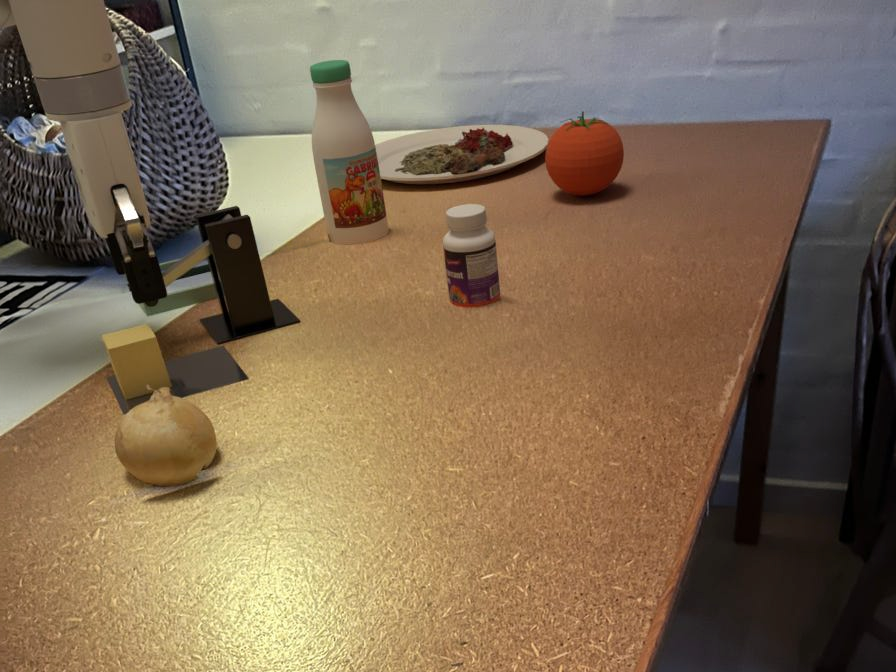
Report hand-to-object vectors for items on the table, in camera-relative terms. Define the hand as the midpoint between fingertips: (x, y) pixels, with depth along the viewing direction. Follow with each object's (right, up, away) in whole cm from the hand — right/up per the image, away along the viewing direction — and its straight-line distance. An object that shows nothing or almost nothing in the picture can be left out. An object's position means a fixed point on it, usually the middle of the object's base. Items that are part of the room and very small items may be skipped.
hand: (141, 285), depth 98 cm
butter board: (+5, -11, -3) cm, 12 cm away
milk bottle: (+19, +15, +27) cm, 36 cm away
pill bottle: (+33, 0, +6) cm, 34 cm away
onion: (+9, -22, -16) cm, 29 cm away
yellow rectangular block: (+2, -11, -4) cm, 12 cm away
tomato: (+48, +24, +33) cm, 63 cm away
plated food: (+30, +38, +53) cm, 71 cm away
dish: (0, +5, +18) cm, 18 cm away
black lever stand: (+9, -2, +7) cm, 12 cm away
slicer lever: (+5, +2, +1) cm, 6 cm away
